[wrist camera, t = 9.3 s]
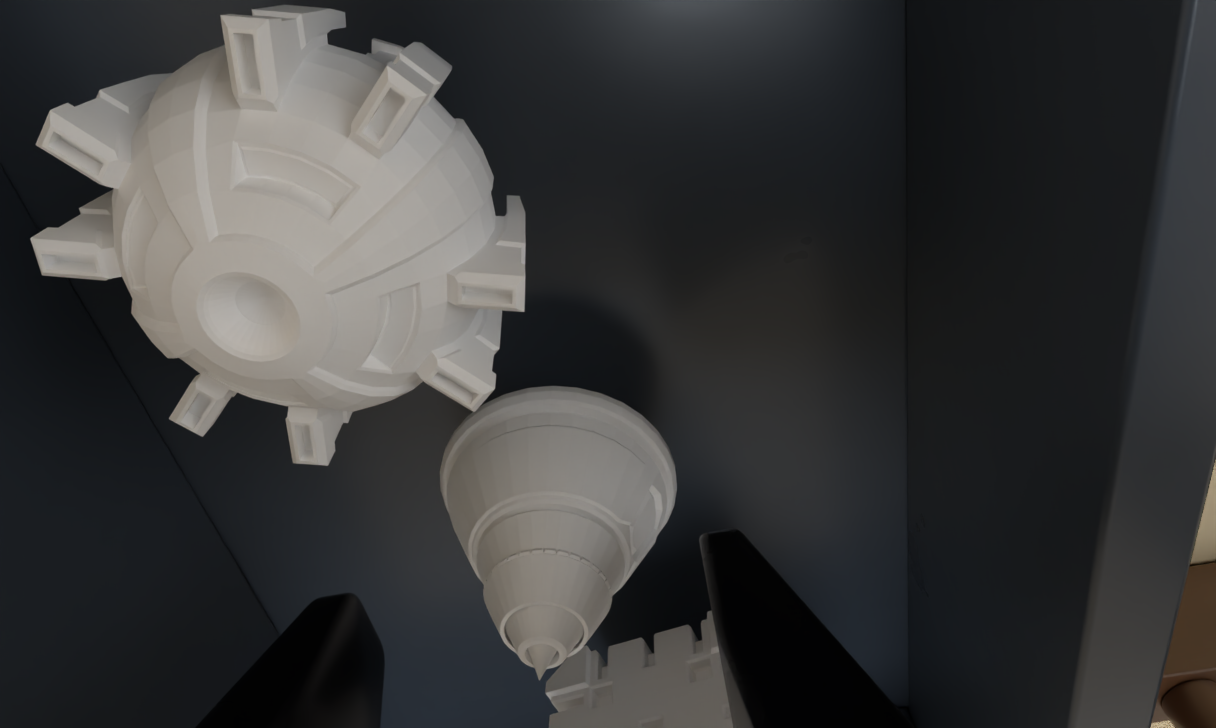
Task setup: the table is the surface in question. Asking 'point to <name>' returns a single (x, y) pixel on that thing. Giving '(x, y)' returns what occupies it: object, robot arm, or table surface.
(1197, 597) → the drying rack
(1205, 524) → the table surface
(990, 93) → the open box
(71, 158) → the game pieces
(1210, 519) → the table surface
